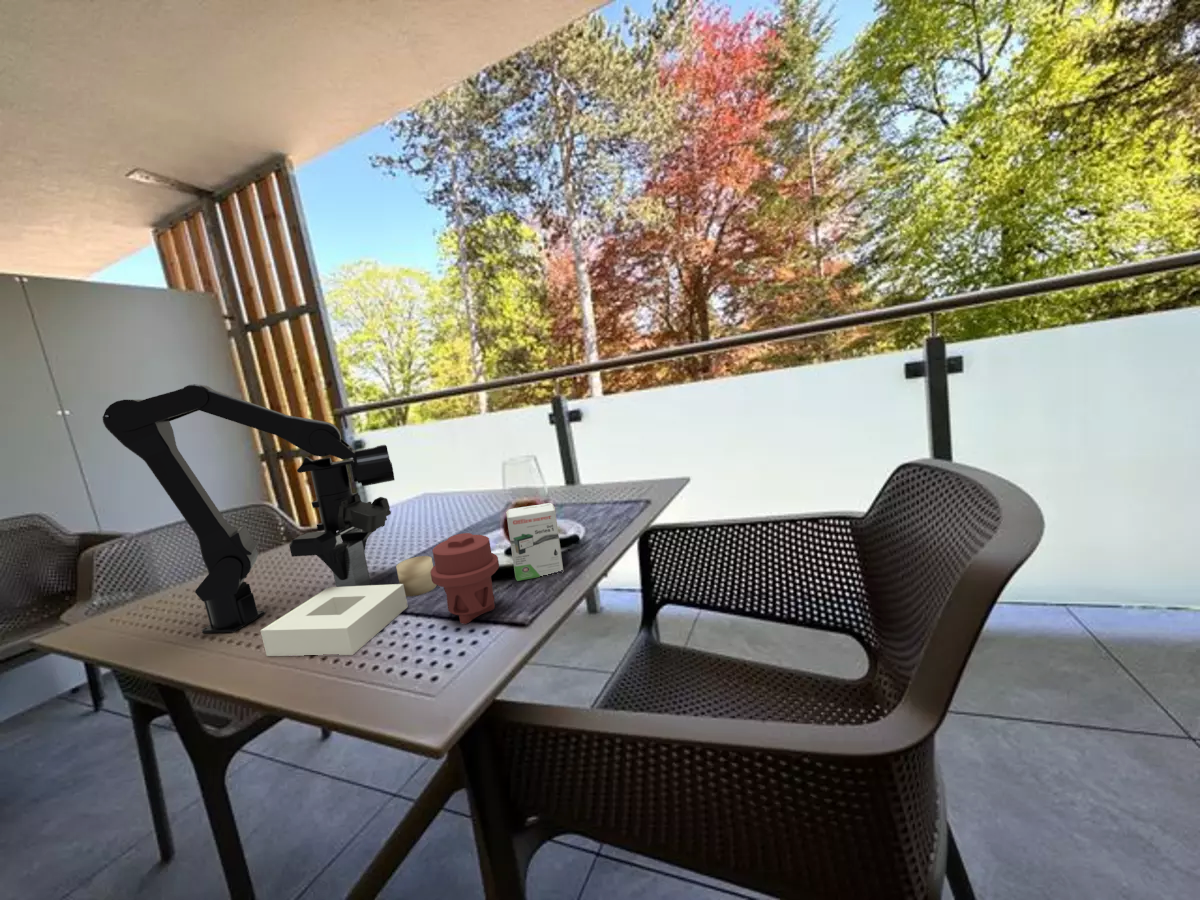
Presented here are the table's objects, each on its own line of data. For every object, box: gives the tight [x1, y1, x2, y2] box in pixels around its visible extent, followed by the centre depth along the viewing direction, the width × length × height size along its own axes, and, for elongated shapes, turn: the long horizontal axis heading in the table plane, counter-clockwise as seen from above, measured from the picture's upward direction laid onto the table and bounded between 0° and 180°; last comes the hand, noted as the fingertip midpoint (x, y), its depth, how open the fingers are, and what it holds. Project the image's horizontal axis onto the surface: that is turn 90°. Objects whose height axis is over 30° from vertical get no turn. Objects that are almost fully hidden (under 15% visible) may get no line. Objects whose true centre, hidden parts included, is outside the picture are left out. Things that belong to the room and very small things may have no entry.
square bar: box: [332, 540, 372, 587], centre depth 93 cm, size 4×4×9 cm
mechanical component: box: [430, 532, 500, 625], centre depth 78 cm, size 12×10×10 cm
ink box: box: [505, 502, 564, 582], centre depth 91 cm, size 9×5×12 cm, turn 102°
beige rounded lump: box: [396, 555, 437, 597], centre depth 91 cm, size 6×6×5 cm
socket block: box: [260, 583, 409, 657], centre depth 78 cm, size 14×14×4 cm
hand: (351, 574), depth 93 cm, fingers closed on square bar, 4 cm apart
